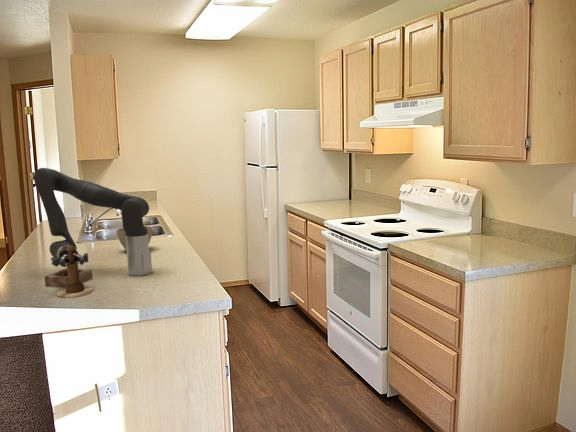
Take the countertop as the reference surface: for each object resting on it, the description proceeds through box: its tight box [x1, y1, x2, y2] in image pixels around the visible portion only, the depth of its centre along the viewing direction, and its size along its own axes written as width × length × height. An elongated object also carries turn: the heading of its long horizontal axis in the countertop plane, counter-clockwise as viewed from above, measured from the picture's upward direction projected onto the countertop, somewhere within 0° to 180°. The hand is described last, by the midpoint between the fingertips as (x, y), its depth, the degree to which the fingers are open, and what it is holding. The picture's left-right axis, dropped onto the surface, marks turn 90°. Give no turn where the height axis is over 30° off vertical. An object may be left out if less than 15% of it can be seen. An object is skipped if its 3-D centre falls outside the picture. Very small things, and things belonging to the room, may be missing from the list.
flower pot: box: [116, 225, 153, 251], centre depth 272 cm, size 18×18×12 cm
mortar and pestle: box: [64, 245, 85, 293], centre depth 199 cm, size 7×6×18 cm
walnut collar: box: [44, 267, 93, 288], centre depth 215 cm, size 12×14×4 cm
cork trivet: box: [56, 285, 94, 299], centre depth 200 cm, size 13×13×1 cm
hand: (73, 263), depth 196 cm, fingers open, 5 cm apart
